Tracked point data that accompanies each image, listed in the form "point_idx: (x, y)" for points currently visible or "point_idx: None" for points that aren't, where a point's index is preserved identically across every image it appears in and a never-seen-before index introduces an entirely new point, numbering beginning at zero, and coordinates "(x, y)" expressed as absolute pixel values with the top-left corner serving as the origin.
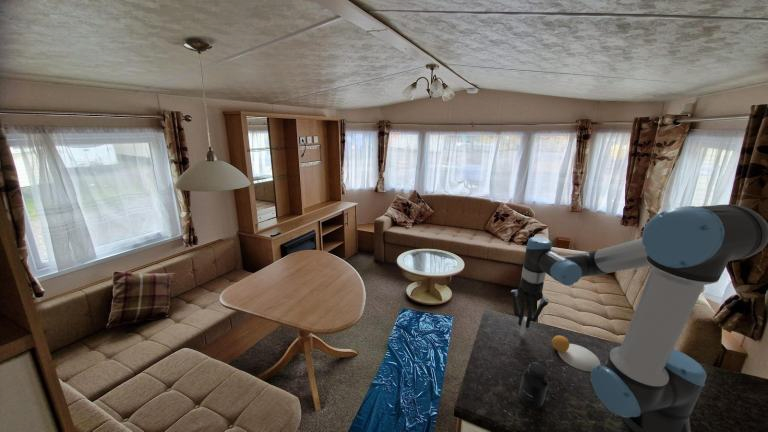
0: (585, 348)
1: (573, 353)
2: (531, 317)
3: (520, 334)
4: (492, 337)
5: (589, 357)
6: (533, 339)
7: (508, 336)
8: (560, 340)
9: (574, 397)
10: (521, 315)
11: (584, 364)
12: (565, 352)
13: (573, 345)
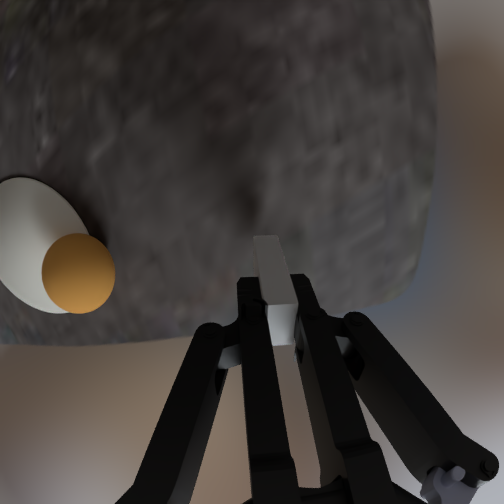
0: (38, 308)
1: None
2: (236, 350)
3: (272, 236)
4: (396, 156)
5: (12, 269)
6: (203, 256)
7: (324, 207)
8: (61, 273)
9: (8, 14)
10: (319, 331)
11: (6, 220)
12: None
13: None
